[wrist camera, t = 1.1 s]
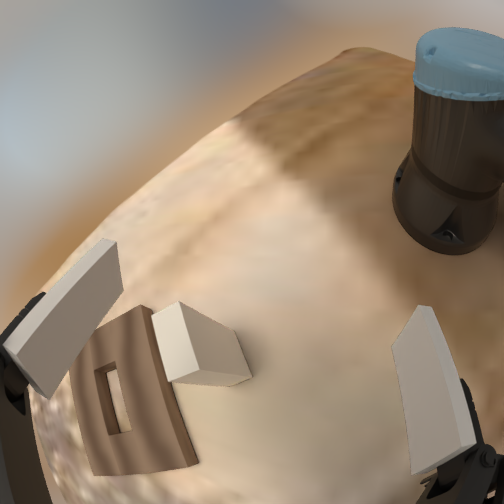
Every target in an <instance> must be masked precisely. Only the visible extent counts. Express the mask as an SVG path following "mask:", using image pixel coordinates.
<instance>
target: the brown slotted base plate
mask: <svg viewBox="0 0 504 504" xmlns="http://www.w3.org/2000/svg"><path fill="white" fill-rule="evenodd" d="M151 315H153V314H152V310H151V309H149V308H147V307H145V306H143V305H141V304H140V305H139V306H137V307H135V308H133V309H131V310H130V311H128V312H126V313H124V314H123V315H121V316H119V317H117V318H115V319H114V320H112V321H110V322H108V323H106V324H105V325H103V326H101V327H99V328H98V329H96V330H95V331H94V332H93V334H92V335H91V337H90V338H89V339H88V341H87V342H86V344H85V345H84V347H83V348H82V350H81V351H80V353H79V354H78V356H77V357H76V359H75V360H74V362H73V363H72V365H71V367H70V368H69V375H70V381H71V388H72V394H73V399H74V404H75V409H76V414H77V419H78V423H79V427H80V431H81V435H82V439H83V443H84V446H85V450H86V453H87V457H88V460H89V463H90V466H91V469H92V472H93V475H94V476H114V475H131V474H142V473H152V472H160V471H167V470H174V469H180V468H186V467H190V466H192V465H195V464H198V460H197V458H196V455H195V453H194V450H193V448H192V445H191V442H190V440H189V437H188V434H187V431H186V429H185V426H184V423H183V420H182V417H181V414H180V411H179V408H178V405H177V402H176V399H175V396H174V393H173V390H172V386H171V383H170V382H168V379H167V376H166V372H165V369H164V365H163V362H162V358H161V354H160V350H159V346H158V342H157V338H156V334H155V330H154V326H153V321H152V317H151ZM115 368H117V372H118V377H119V382H120V386H121V390H122V394H123V398H124V402H125V406H126V410H127V414H128V417H129V421H130V424H131V428H132V431H129V432H124V433H120V432H119V428H118V425H117V421H116V417H115V413H114V409H113V405H112V401H111V397H110V393H109V388H108V383H107V378H106V372H108V371H111V370H113V369H115Z"/></svg>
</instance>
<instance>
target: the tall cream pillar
mask: <svg viewBox="0 0 504 504" xmlns="http://www.w3.org/2000/svg"><path fill="white" fill-rule="evenodd" d="M151 317H152V321H153V326H154V330H155V334H156V338H157V342H158V346H159V350H160V354H161V358H162V362H163V365H164V369H165V372H166V376H167V379H168V382H175V383H184V384H195V385H208V386H225V387H230V386H232V385H235V384H237V383H240V382H242V381H245V380H247V379H250V378H252V375H251V372H250V370H249V367H248V365H247V362H246V360H245V357H244V355H243V352H242V350H241V347H240V345H239V342H238V339H237V337H236V334H235V332H234V331H233V330H231V329H229V328H227V327H226V326H224V325H222V324H220V323H218V322H216V321H214V320H212V319H210V318H209V317H207V316H205V315H203V314H201V313H199V312H198V311H196V310H194V309H192V308H190V307H189V306H187V305H185V304H183V303H182V302H180V301H178V302H176V303H174V304H172V305H170V306H168V307H166V308H165V309H163V310H161V311H159V312H157V313H155V314H153V315H151Z"/></svg>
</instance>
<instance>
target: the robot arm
mask: <svg viewBox="0 0 504 504" xmlns="http://www.w3.org/2000/svg"><path fill="white" fill-rule="evenodd" d="M413 81H414V84H415V92H414V119H413V133H412V145H411V148H410V150H409V152H408V153H407V155H406V157H405V158H404V160H403V162H402V163H401V165H400V166H399V168H398V170H397V172H396V175H395V178H394V183H393V192H392V201H393V207H394V210H395V213H396V215H397V218H398V220H399V221H400V223H401V225H402V226H403V227H404V229H405V230H406V231H407V232H408V233H409V234H410V235H411V236H412V237H413V238H414V239H415V240H416V241H417V242H419V243H420V244H422V245H423V246H425V247H427V248H429V249H431V250H433V251H436V252H439V253H443V254H448V255H460V254H465V253H468V252H471V251H473V250H475V249H476V248H478V247H479V246H480V245H481V244H482V243H483V242H484V241H485V239H486V238H487V236H488V235H489V233H490V232H491V230H492V228H493V226H494V223H495V220H496V213H497V205H498V195H499V188H500V186H501V184H502V182H504V39H502V38H500V37H497V36H495V35H492V34H489V33H486V32H482V31H478V30H473V29H467V28H456V27H451V28H439V29H435V30H431V31H429V32H427V33H425V34H424V35H423V36H422V37H421V38H420V39H419V41H418V43H417V46H416V61H415V71H414V73H413ZM123 291H124V290H123V284H122V278H121V272H120V265H119V258H118V250H117V242H116V241H112V240H108V239H104V238H102V239H101V240H100V241H99V242H98V243H97V244H96V245H95V246H94V247H93V248H91V249H90V250H89V251H88V252H87V253H86V254H85V255H84V256H83V257H82V258H81V259H80V260H79V261H78V262H77V263H76V264H75V265H74V266H73V267H72V268H71V269H70V270H69V271H68V272H67V273H66V274H65V275H64V276H63V277H62V278H61V279H60V280H59V281H58V282H57V283H56V284H55V285H54V286H53V287H52V288H51V289H50V290H49V291H48V292H47V293H45V292H42V293H40V294H39V295H37V296H35V297H34V298H32V299H31V300H30V301H29V303H28V304H27V305H26V306H25V308H24V309H22V310H21V312H20V313H19V315H18V316H16V317H15V318H14V320H13V321H12V322H11V323H10V324H9V325H8V327H7V328H6V329H5V330H4V331H3V333H2V334H1V335H0V504H53V503H52V500H51V497H50V494H49V491H48V488H47V485H46V481H45V478H44V474H43V471H42V467H41V463H40V459H39V454H38V450H37V445H36V440H35V435H34V430H33V423H32V417H31V408H30V399H29V392H28V389H27V386H28V384H29V383H30V385H31V386H32V387H33V388H34V390H35V391H36V392H38V393H39V394H41V395H42V396H44V397H45V398H47V399H48V400H50V399H51V397H52V396H53V394H54V392H55V391H56V389H57V387H58V386H59V384H60V382H61V381H62V379H63V378H64V376H65V374H66V373H67V371H68V370H69V368H70V367H71V365H72V363H73V362H74V360H75V359H76V357H77V356H78V354H79V353H80V351H81V350H82V348H83V347H84V345H85V344H86V342H87V341H88V339H89V338H90V337H91V335H92V334H93V332H94V331H95V329H96V328H97V327H98V325H99V324H100V322H101V321H102V319H103V318H104V317H105V315H106V314H107V313H108V311H109V310H110V308H111V307H112V306H113V304H114V303H115V302H116V300H117V299H118V298H119V296H120V295H121V294H122V292H123ZM391 348H392V352H393V356H394V361H395V366H396V370H397V375H398V380H399V385H400V391H401V396H402V402H403V408H404V414H405V421H406V428H407V436H408V444H409V454H410V465H411V475H418V474H423V473H427V472H429V471H431V470H433V469H435V468H437V473H435V474H433V475H431V476H429V477H427V478H425V479H423V480H422V481H421V483H420V484H424V483H426V482H428V481H430V482H429V483H427V484H426V485H425V487H426V488H425V490H424V492H423V493H422V495H421V496H420V498H419V500H418V501H417V503H416V504H504V455H500V454H496V451H495V449H494V448H493V447H492V446H491V445H488V444H484V441H483V437H482V433H481V428H480V424H479V420H478V417H477V413H476V410H475V406H474V402H472V400H473V399H472V395H471V392H470V389H469V387H468V386H467V384H466V383H465V381H464V380H463V379H459V376H458V373H457V370H456V367H455V364H454V361H453V358H452V356H451V353H450V350H449V348H448V345H447V342H446V340H445V337H444V335H443V332H442V330H441V328H440V325H439V323H438V320H437V318H436V316H435V314H434V311H433V309H432V307H429V306H423V305H418V306H417V308H416V309H415V311H414V313H413V314H412V316H411V318H410V319H409V321H408V322H407V324H406V325H405V327H404V329H403V330H402V332H401V333H400V335H399V336H398V338H397V339H396V341H395V342H394V343H393V345H392V346H391ZM494 490H496V492H495V496H493V497H491V498H489V499H488V498H487V495H488V493H490V492H492V491H494Z"/></svg>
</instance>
